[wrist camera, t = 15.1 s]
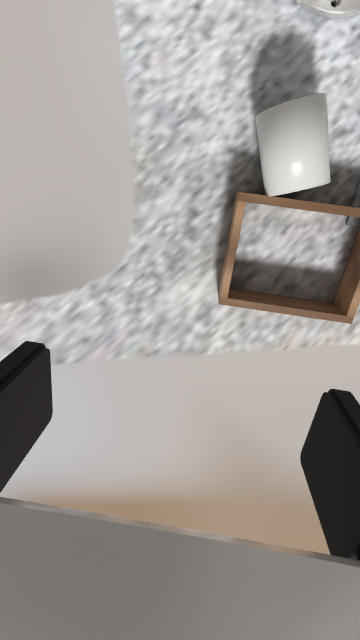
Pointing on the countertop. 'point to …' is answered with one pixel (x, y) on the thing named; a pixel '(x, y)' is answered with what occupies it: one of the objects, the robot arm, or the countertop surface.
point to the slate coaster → (355, 221)
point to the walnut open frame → (352, 290)
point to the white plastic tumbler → (294, 145)
